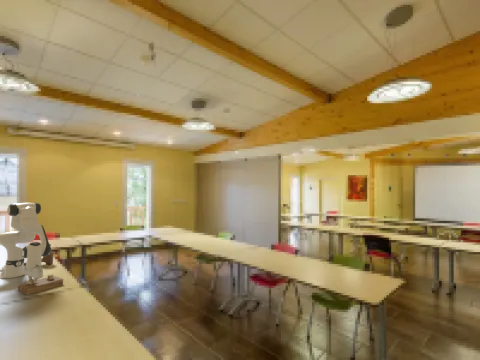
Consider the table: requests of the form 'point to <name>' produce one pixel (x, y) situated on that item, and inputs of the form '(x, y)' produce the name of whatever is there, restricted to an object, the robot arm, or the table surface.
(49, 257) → the wooden toy
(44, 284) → the board
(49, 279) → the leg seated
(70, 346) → the table surface
